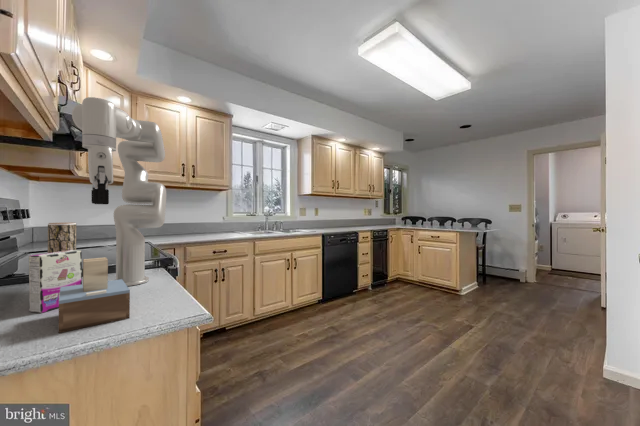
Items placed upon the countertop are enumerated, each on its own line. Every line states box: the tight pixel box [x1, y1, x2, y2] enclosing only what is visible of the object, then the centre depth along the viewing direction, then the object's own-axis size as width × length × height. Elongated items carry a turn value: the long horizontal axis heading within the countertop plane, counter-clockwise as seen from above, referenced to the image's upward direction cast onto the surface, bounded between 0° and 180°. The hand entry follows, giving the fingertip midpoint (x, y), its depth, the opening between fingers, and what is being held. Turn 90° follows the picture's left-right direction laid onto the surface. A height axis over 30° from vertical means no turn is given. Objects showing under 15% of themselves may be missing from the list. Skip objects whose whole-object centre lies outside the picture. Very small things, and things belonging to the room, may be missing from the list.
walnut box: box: [58, 292, 131, 334], centre depth 75 cm, size 15×14×7 cm
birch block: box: [82, 257, 109, 292], centre depth 75 cm, size 5×5×8 cm
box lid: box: [59, 279, 131, 304], centre depth 75 cm, size 15×14×1 cm
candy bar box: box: [28, 249, 83, 314], centre depth 82 cm, size 11×5×16 cm, turn 168°
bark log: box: [47, 222, 77, 253], centre depth 89 cm, size 7×7×25 cm
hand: (99, 203), depth 78 cm, fingers open, 9 cm apart
